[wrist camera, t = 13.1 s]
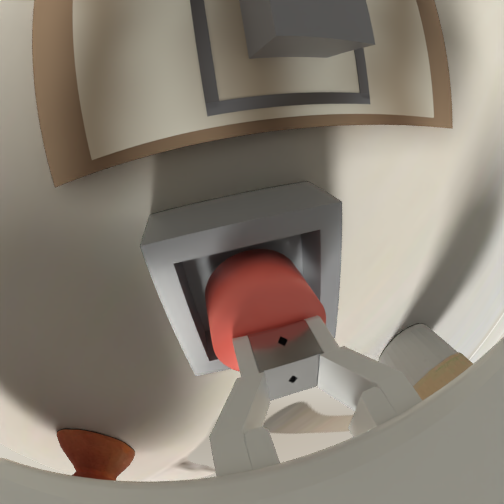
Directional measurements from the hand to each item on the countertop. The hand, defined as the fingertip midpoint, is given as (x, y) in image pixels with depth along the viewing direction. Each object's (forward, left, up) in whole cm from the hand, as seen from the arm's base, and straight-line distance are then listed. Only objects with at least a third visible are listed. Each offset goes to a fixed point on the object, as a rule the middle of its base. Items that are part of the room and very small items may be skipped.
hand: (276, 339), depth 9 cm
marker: (+3, +15, -4) cm, 16 cm away
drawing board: (+3, +15, -5) cm, 16 cm away
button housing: (0, 0, -5) cm, 5 cm away
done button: (0, 0, -3) cm, 3 cm away
